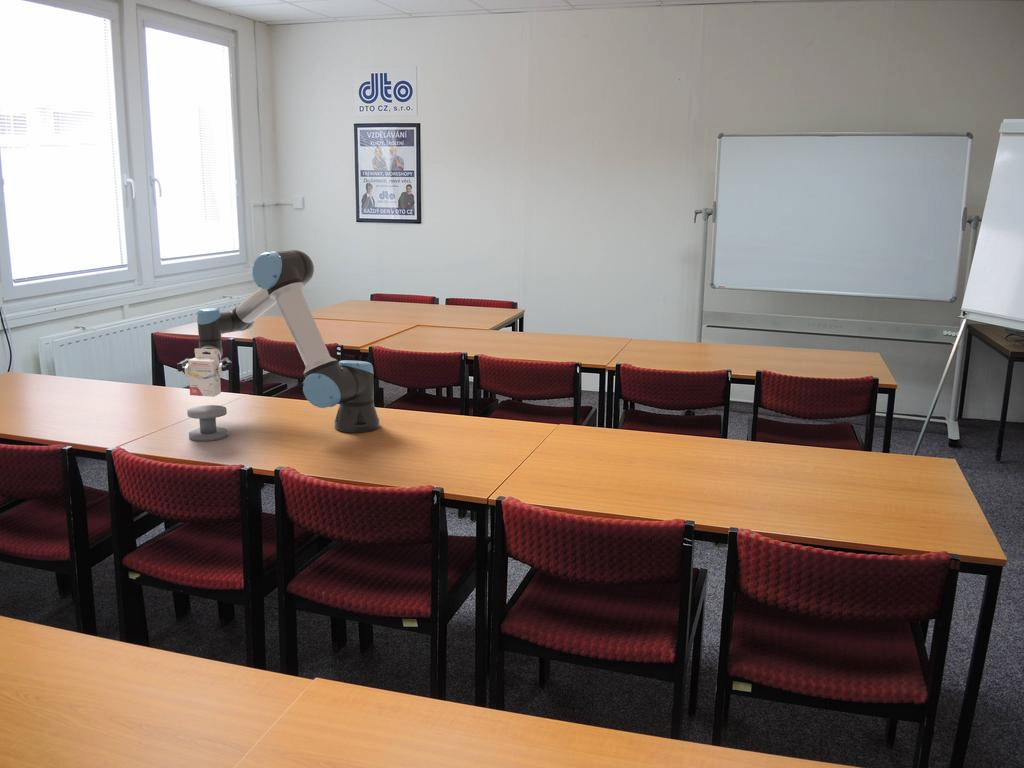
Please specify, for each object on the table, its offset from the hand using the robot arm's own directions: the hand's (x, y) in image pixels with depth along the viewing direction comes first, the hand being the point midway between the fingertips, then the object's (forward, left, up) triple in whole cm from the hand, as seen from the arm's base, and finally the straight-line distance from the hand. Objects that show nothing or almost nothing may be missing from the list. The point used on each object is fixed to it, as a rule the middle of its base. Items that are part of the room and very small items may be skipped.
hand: (203, 371), depth 263 cm
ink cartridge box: (+3, -3, -9) cm, 10 cm away
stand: (+3, -3, -22) cm, 23 cm away
